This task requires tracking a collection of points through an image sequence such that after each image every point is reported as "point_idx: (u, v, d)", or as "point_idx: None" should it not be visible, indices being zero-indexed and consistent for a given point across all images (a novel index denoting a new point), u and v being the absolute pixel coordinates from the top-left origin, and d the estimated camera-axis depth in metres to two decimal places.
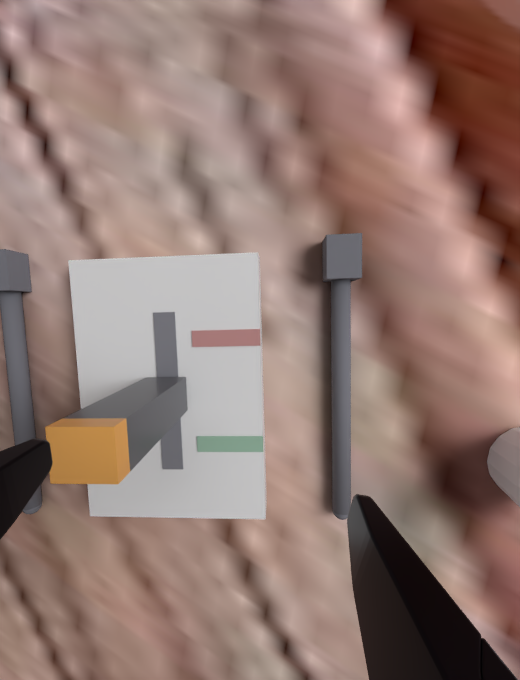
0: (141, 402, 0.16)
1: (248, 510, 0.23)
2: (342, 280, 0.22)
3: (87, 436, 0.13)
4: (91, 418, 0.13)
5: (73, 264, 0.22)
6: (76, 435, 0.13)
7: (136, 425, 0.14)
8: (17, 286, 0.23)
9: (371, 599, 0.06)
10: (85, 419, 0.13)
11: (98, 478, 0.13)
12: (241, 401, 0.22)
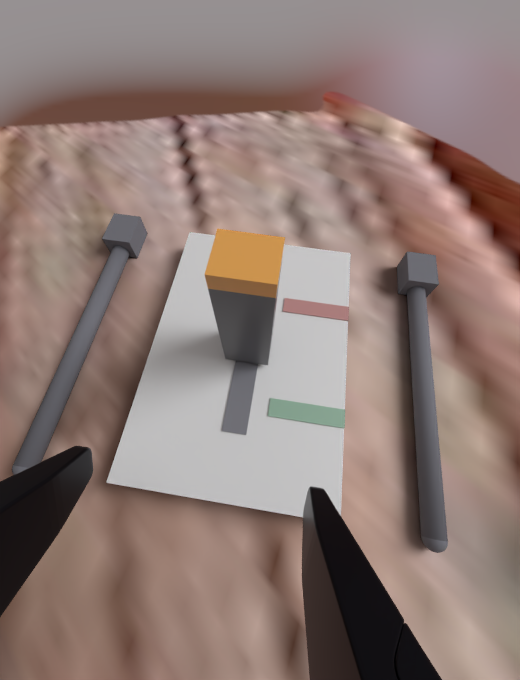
0: None
1: None
2: (420, 287, 0.25)
3: (256, 241, 0.13)
4: None
5: (193, 235, 0.26)
6: (245, 239, 0.13)
7: None
8: (133, 245, 0.26)
9: (313, 588, 0.07)
10: None
11: (257, 277, 0.12)
12: (324, 368, 0.21)
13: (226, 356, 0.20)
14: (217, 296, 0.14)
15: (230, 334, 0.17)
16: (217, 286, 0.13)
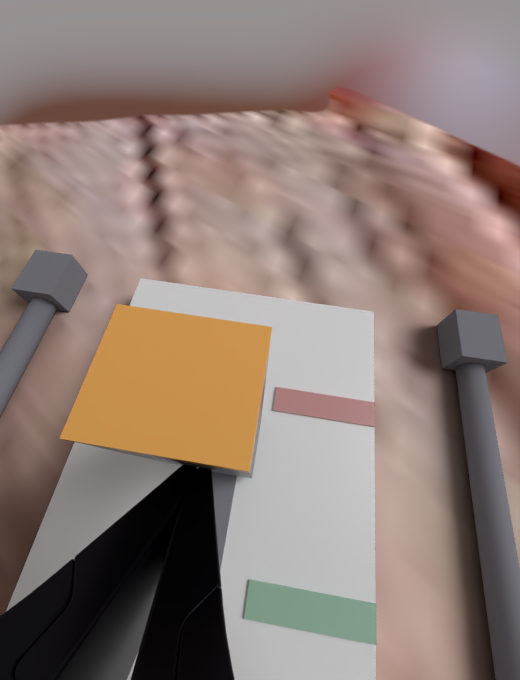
0: None
1: None
2: (477, 364, 0.17)
3: (204, 337, 0.05)
4: None
5: (145, 283, 0.18)
6: (179, 331, 0.06)
7: (263, 389, 0.07)
8: (59, 296, 0.18)
9: None
10: None
11: (197, 445, 0.05)
12: (339, 518, 0.13)
13: None
14: (121, 451, 0.06)
15: (179, 464, 0.10)
16: (108, 448, 0.05)
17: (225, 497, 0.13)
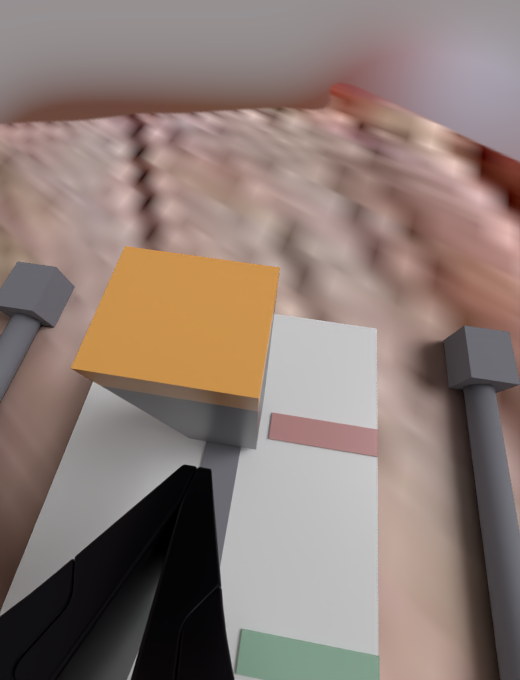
0: None
1: None
2: (487, 386, 0.16)
3: (213, 276, 0.06)
4: None
5: None
6: (187, 271, 0.06)
7: None
8: (43, 311, 0.17)
9: None
10: None
11: (207, 375, 0.05)
12: (339, 559, 0.12)
13: (190, 437, 0.13)
14: (130, 395, 0.06)
15: (185, 427, 0.10)
16: (118, 385, 0.05)
17: (217, 536, 0.12)
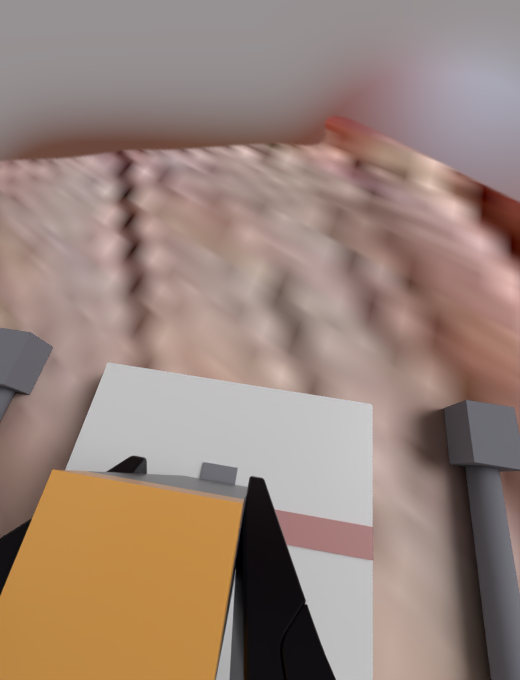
0: (231, 490, 0.08)
1: None
2: (491, 468, 0.15)
3: (158, 520, 0.04)
4: (157, 483, 0.06)
5: (112, 368, 0.16)
6: (126, 511, 0.04)
7: (239, 534, 0.06)
8: (16, 382, 0.16)
9: (238, 573, 0.07)
10: (144, 482, 0.05)
11: None
12: None
13: None
14: None
15: None
16: None
17: None
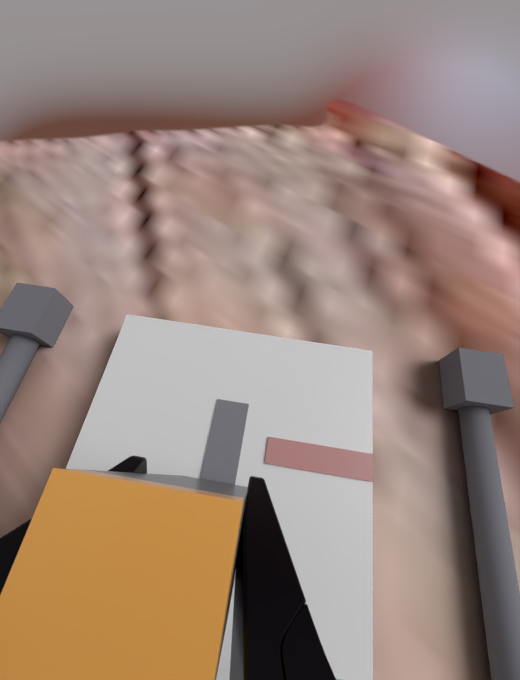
0: (231, 490, 0.08)
1: None
2: (481, 408, 0.16)
3: (158, 519, 0.04)
4: (157, 482, 0.06)
5: (131, 319, 0.17)
6: (127, 510, 0.04)
7: (239, 533, 0.06)
8: (42, 333, 0.17)
9: (238, 573, 0.07)
10: (145, 480, 0.05)
11: None
12: (334, 586, 0.12)
13: None
14: None
15: None
16: None
17: None
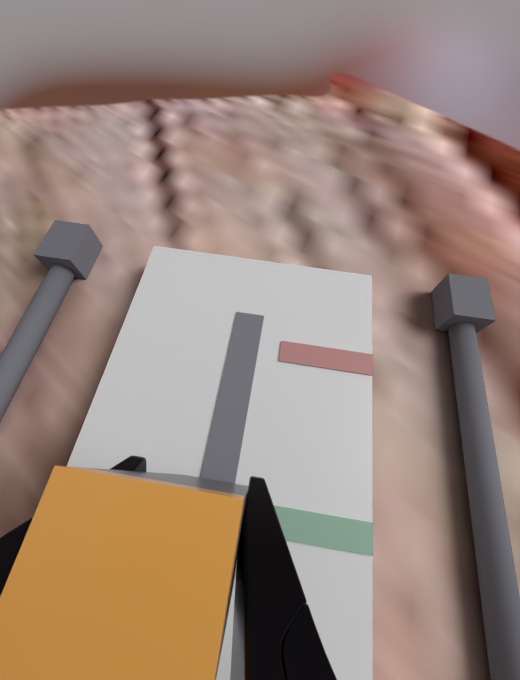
0: (231, 488, 0.08)
1: None
2: (468, 323, 0.18)
3: (159, 516, 0.04)
4: (158, 480, 0.06)
5: (158, 250, 0.19)
6: (128, 507, 0.04)
7: None
8: (78, 263, 0.20)
9: (238, 574, 0.07)
10: (146, 478, 0.05)
11: None
12: (340, 452, 0.14)
13: None
14: None
15: None
16: None
17: (236, 434, 0.14)
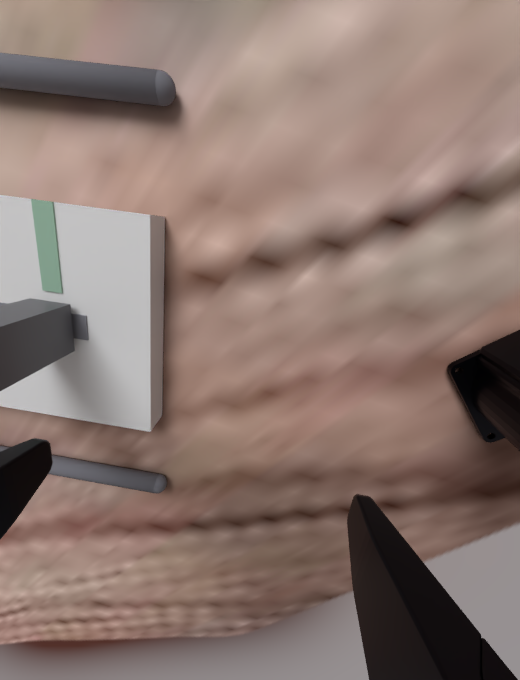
0: None
1: (137, 238, 0.16)
2: None
3: None
4: None
5: None
6: None
7: None
8: None
9: (371, 599, 0.06)
10: None
11: None
12: None
13: (68, 352, 0.18)
14: None
15: (15, 369, 0.15)
16: None
17: None
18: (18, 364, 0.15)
